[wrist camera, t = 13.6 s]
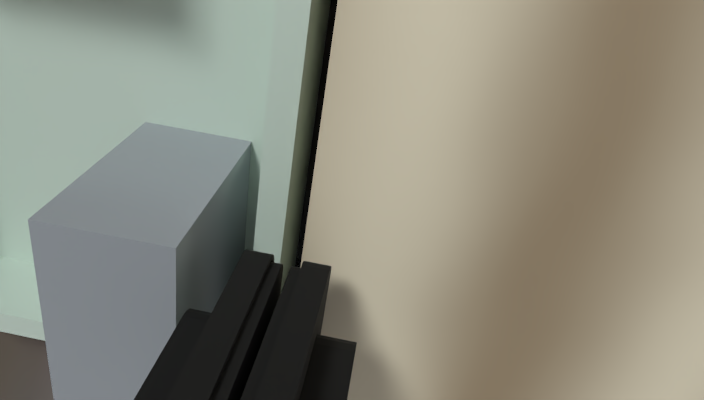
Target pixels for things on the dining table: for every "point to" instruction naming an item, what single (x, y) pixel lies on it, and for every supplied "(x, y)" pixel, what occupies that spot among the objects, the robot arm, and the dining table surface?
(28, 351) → the dining table surface
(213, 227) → the slate tile
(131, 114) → the box
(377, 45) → the birch platform
